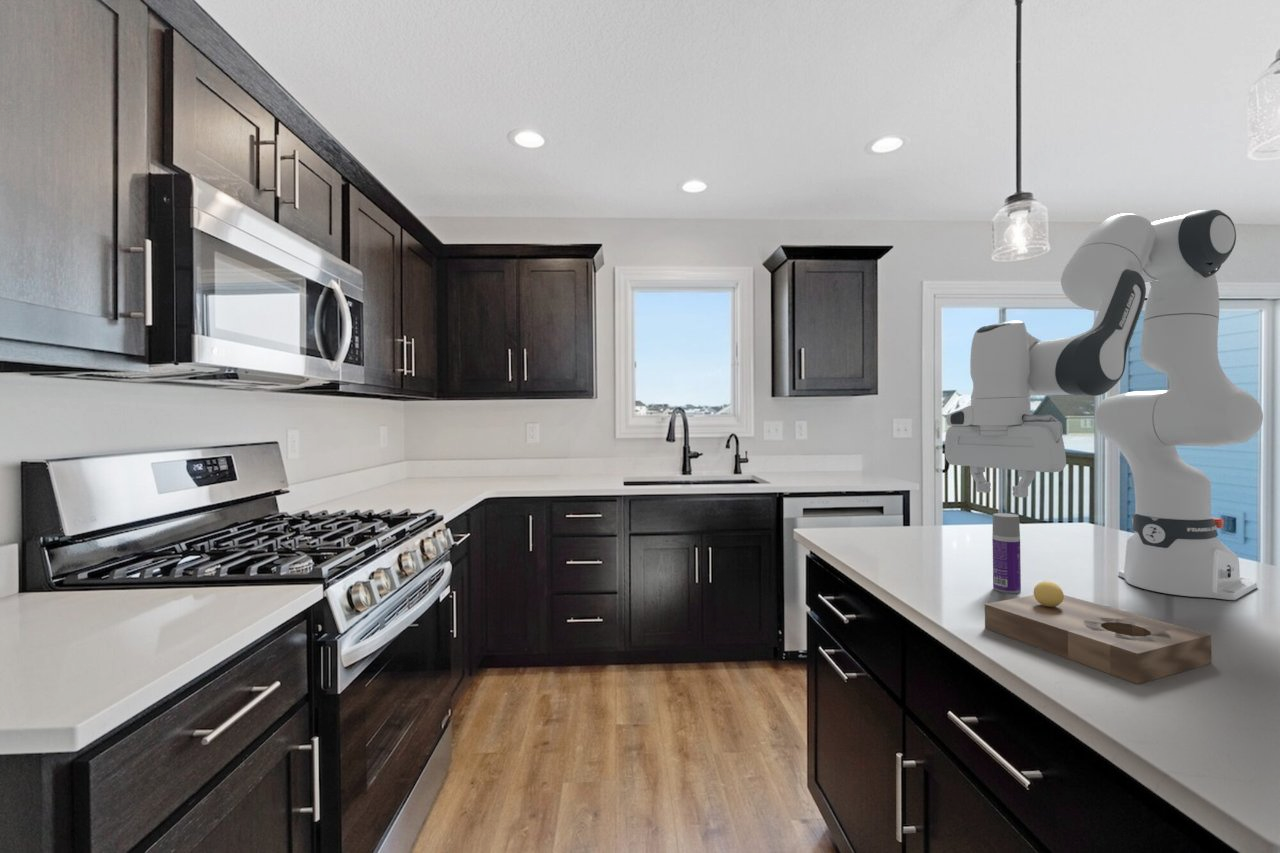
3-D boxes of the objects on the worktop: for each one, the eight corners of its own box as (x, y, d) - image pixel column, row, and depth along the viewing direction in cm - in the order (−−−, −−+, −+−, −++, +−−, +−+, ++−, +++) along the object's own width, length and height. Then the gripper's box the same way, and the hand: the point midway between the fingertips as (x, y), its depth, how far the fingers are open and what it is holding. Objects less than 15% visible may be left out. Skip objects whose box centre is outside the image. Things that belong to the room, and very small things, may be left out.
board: (1052, 614, 102) (1051, 591, 102) (1211, 663, 81) (1211, 634, 81) (985, 628, 96) (984, 604, 96) (1138, 684, 76) (1137, 653, 76)
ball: (1044, 601, 97) (1044, 577, 97) (1069, 608, 93) (1069, 583, 93) (1027, 604, 95) (1027, 580, 95) (1052, 611, 92) (1052, 586, 92)
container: (1025, 594, 113) (1024, 517, 113) (998, 593, 114) (997, 516, 114) (1014, 587, 118) (1013, 513, 118) (989, 586, 119) (988, 512, 119)
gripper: (1075, 413, 93) (1076, 500, 93) (963, 415, 112) (964, 487, 112) (1047, 414, 90) (1048, 503, 91) (938, 416, 110) (939, 489, 110)
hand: (1001, 494), depth 101 cm, fingers open, 5 cm apart
